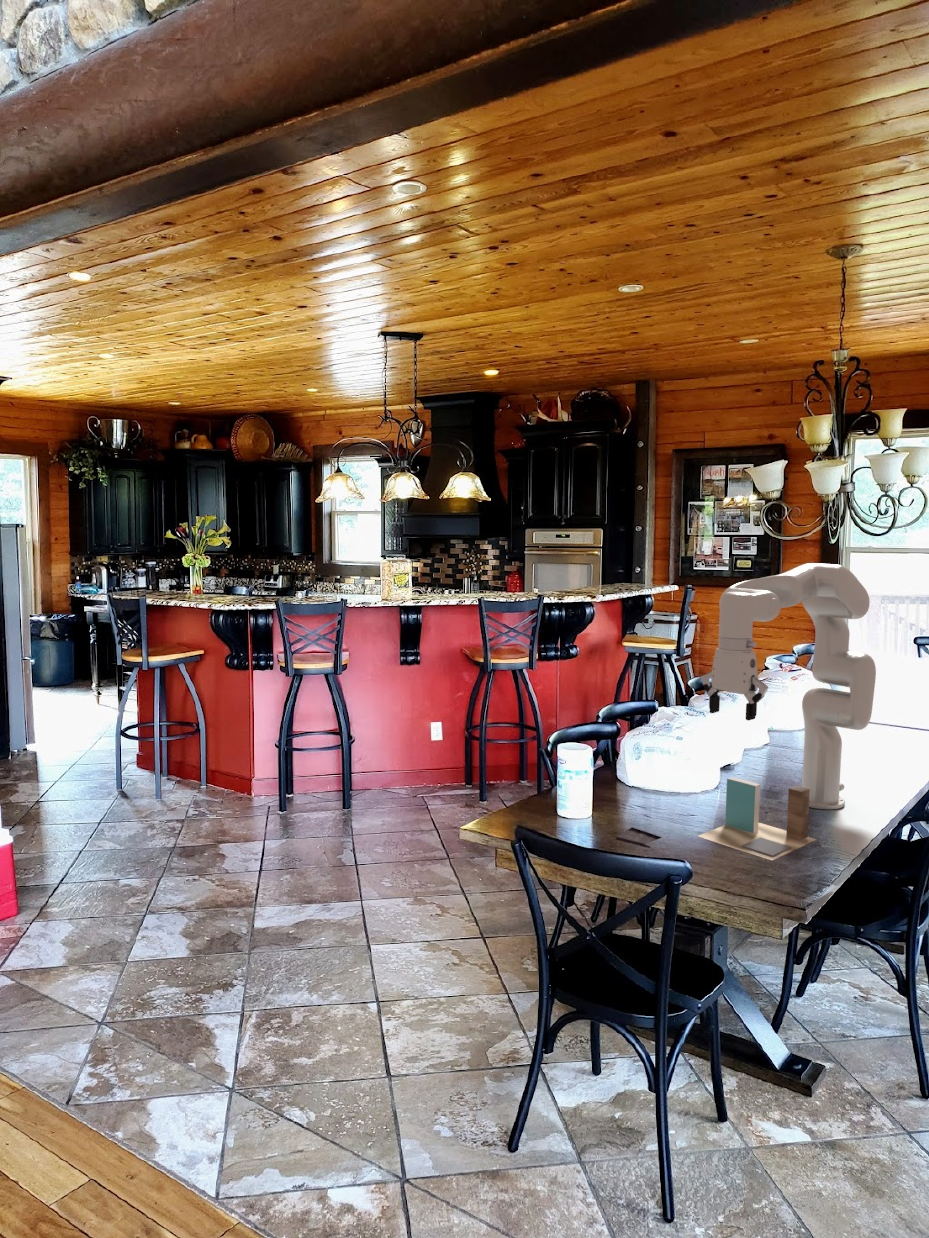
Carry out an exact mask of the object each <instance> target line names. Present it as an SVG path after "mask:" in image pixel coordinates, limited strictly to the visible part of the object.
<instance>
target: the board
mask: <svg viewBox="0 0 929 1238" xmlns="http://www.w3.org/2000/svg"><path fill="white" fill-rule="evenodd" d="M786 834H787V829H783V828H779V827H775V826H772V825H768V824H765V823H762V822H759V824H758V832H756V833H754V834H753V833H750V832H747V831H743V830H740V829H737V828H734V827H730V826H727V825H725V824H724V825H721V826H719V827H717V828H714V829H712V830H709V831H707V832H704V833H702V834H699V835H697V838H701V839H705V840H706V841H711V842H713V843H716V844H719V845H722V846H726V847H729V848H731V849H735V850H737V851H741V852H743V853H747V854H750V855H753V856H757V857H759V858H762V859H765V860H768V861H775V860H777V859H779V858H781V857H783V856H785V855H787V854H789V853H791V852H792V853H793V852H794V851H795V850H797V849H801V848H802V847H804V846H806V845H809V844H811V843H812V842H814V841H817V839H816V838H813V837H810V836H807V838H804V839H802V840H800V841H799V840H796V839H793V838H789V837H786ZM760 837H761V838H764V839H767V840H771V841H774V842H777V843H780V844H784V845H787V846H790V847H791V849H789V850H787V851H785V852H782V853H780V854H778V855H776V856H774V857H771V856H768V855H765V854H762V853H759V852H756V851H752V850H749V849H746V848H743V847H742V845H744V844H746V843H749V842H751V841H753V840H755V839H758V838H760Z"/></svg>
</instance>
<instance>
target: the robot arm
mask: <svg viewBox="0 0 929 1238" xmlns="http://www.w3.org/2000/svg"><path fill="white" fill-rule="evenodd" d="M800 603H802V606H803V608H804V610H805V611H806V613H807V614H808V615H809V616H810V619H811V621H812V623H813V625H814V630H815V636H814V637H815V638H814V647H813V655H812V656H813V657H812V658H813V659H812V670H811V672H812V676H813V678H814V679H815V680H816V681H817V682H819V683H823V684H828V685H833V686H839V687H845V688H849V692H848V691H843V690H837V689H833V688H832V689H831V688H826V687H825V688H824V687H822V688H821V687H816V688H811V689H810V690H808V691H806V692H805V694H804V695H803V697H802V698H803V699H802V701H801V704H802V705H801V710H802V716H803V723H804V740H803V741H804V742H803V760H802V761H803V762H802V776H801V777H802V780H801V787H804V788H808V789H810V795H809V808H813V809H817V810H838V809H841V808H843V807H844V806H845V803H846V802H845V799H844V798H842V797H841V796H840V792H841V791H844V790H845V785H844V784H843V783H841V768H842V767H841V766H842V749H843V747H842V745H843V742H842V737H841V735H840V732H839V729H838V728H843V729H848V730H856V731H861V730H864V729H865V728H866V727H867V726H868V725H869V724H870V721H871V717H872V713H873V705H874V695H875V686H876V678H877V677H876V675H877V670H876V669H877V668H876V662H875V661H874V658H872V656H870V655H869V654H868V653H864V652H859V651H851V650H850V649H849V648H850V646H849V645H850V635H851V634H850V629H849V628H850V627H849V626H848V624H847V622H846V620H845V619H848V620H858V619H861V618H863V617H865V615H867V614H868V612H869V607H870V603H871V601H870V596H869V593H868V591H867V589H866V588H865V586H864V585H863V584H862V583H861V581H860V580H859V579H858V578H857V577H856V576H855V574H854V573H853V572H852V571H851V570H850V569H848V568H847V567H846V566H844V565H841V564H833V563H832V564H831V563H819V562H818V563H815V562H810V563H803V564H800V565H797V566H796V567H794V568H791V569H789V570H787V571H785V572H782V573H779V574H776V575H769V576H765V577H764V576H763V577H760V578H753V579H749V580H744V581H741V582H737V583H735V584H733V585H730V586H729V587H727V588H726V589H725V590H724V591H723V593H722V594H721V595H720V598H719V605H718V606H719V620H718V621H719V622H718V623H719V624H718V627H719V628H718V647H717V648H716V649H715V651H714V656H713V661H712V668H711V671H710V672H708V673H706V674H704V675H701V676H700V680H701V683H702V686H703V688H704V690H705V692H706V693H707V696H708V697H709V699H708V700H709V702H708V708H709V713H710V714H715V713H719V712H720V701H721V696H720V695H719V693H721V692H725V693H732V694H736V695H744V697H745V699H746V700H747V703H746V705H745V721H751V720H755V719H756V717H757V708H758V703H759V702H760V701H761V700H763V698H764V697H765V694H766V693H767V692H768V690H769V686H768V685H767V684H765V682H763V681H762V680H760V679H759V678H758V675H759V673H758V663H757V662H758V661H757V655H756V652H755V651H754V650H753V649H754V648H757V642H755V641H753V627H754V626H753V624H754V622H762V623H764V622H767V623H768V622H770V621H773V620H775V619H776V618H777V617H778V615H779V614H780V612H781V609H782V608H784V609H785V608H790V607H794V606H796V605H798V604H800ZM710 679H711V682H710ZM756 692H757V693H756ZM837 727H838V728H837Z"/></svg>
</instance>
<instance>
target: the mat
mask: <svg viewBox="0 0 929 1238" xmlns="http://www.w3.org/2000/svg"><path fill="white" fill-rule="evenodd" d="M742 847H743V848H746V849H749V850H752V851H756V852H759V853H762V854H765V855H768V856H771V857H774V856H776V855H778V854H780V853H782V852H785V851H787V850H789V849H791V847H790V846H787V845H784V844H780V843H777V842H774V841H771V840H767V839H764V838H761V837H760V838H758V839H755V840H753V841H751V842H749V843H746V844H744V845H742Z"/></svg>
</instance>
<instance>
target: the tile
mask: <svg viewBox="0 0 929 1238" xmlns="http://www.w3.org/2000/svg"><path fill="white" fill-rule="evenodd" d="M725 797H726V798H725V819H724V820H725V823H724V825H727V826H730V827H734V828H737V829H740V830H743V831H747V832H750V833H753V834H754V833H756V832H758V824H759V823H760V822H759V821H760V820H759V819H760V818H759V817H760V798H761V784H760V783H757V782H753V781H749V780H745V779H742V778H736V777H734V776H730V777H728V778H726V796H725Z"/></svg>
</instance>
